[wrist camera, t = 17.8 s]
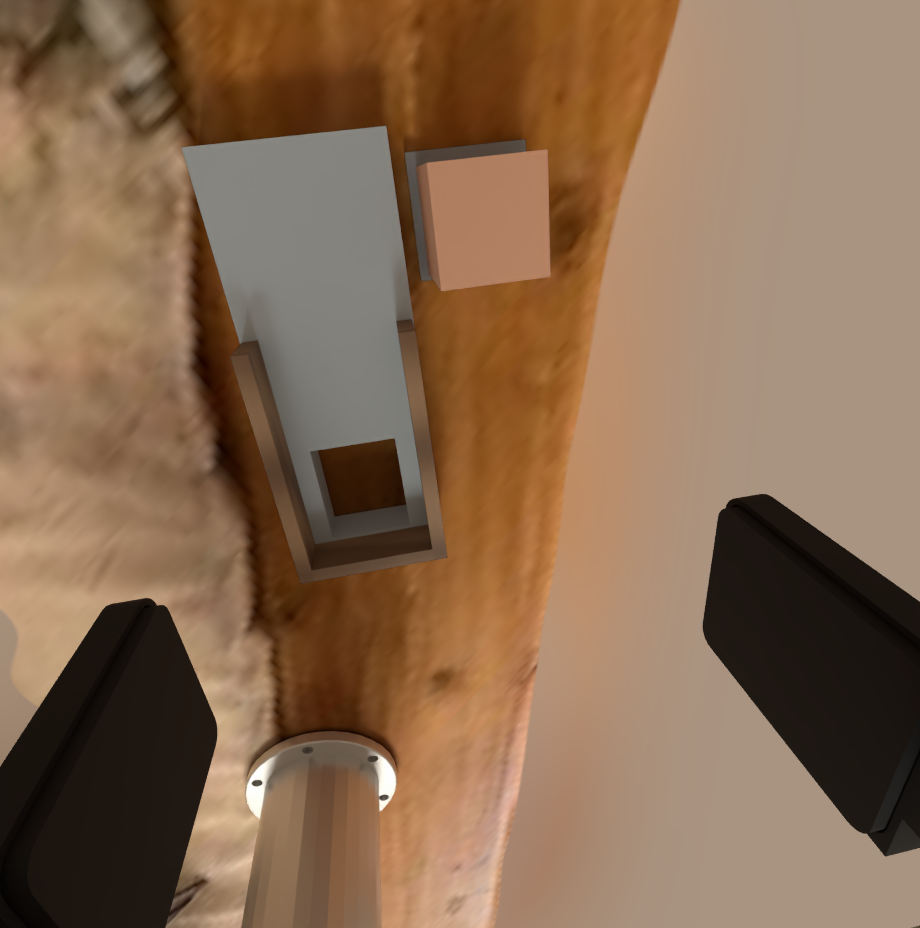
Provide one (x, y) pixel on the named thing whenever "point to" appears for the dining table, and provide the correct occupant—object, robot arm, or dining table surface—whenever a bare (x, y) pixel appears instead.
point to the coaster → (445, 154)
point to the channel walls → (277, 461)
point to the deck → (318, 298)
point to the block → (486, 219)
